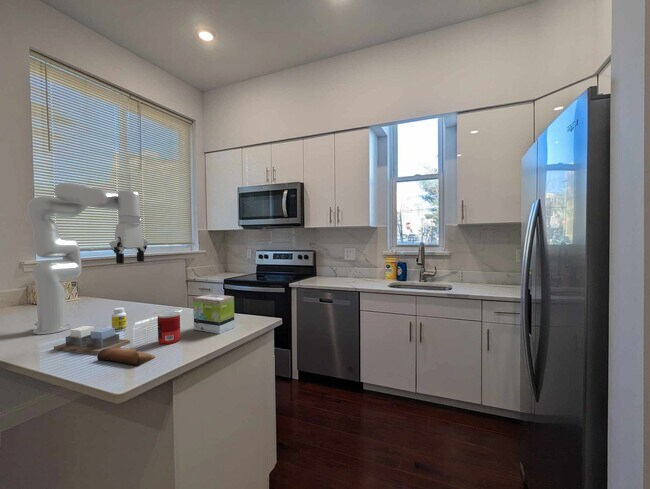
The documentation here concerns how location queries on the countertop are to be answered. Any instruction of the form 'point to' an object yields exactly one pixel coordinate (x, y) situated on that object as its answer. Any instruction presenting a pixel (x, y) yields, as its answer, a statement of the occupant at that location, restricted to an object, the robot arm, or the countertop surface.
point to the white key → (81, 331)
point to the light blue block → (102, 333)
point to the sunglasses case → (125, 356)
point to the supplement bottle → (119, 319)
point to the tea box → (213, 313)
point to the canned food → (168, 328)
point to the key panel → (91, 344)
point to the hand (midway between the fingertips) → (130, 262)
